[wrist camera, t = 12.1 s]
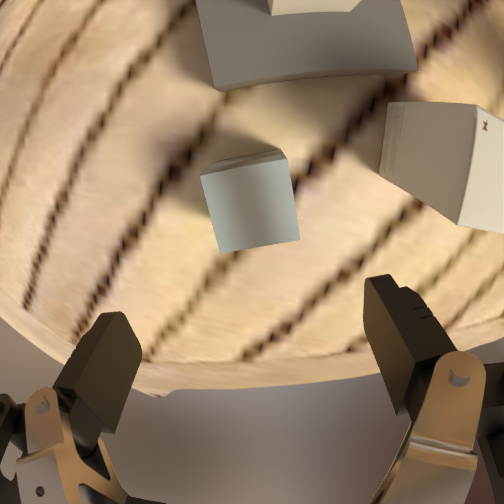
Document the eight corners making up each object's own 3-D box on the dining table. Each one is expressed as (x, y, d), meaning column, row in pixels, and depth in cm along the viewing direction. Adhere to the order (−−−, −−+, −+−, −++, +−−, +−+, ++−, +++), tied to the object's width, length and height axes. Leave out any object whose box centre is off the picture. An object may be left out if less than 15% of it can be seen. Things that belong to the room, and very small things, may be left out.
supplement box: (375, 176, 25) (453, 227, 13) (386, 99, 21) (476, 99, 10) (436, 189, 25) (519, 240, 13) (448, 120, 21) (541, 140, 10)
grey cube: (280, 149, 24) (287, 158, 19) (291, 213, 27) (300, 239, 21) (212, 162, 25) (199, 175, 19) (228, 224, 27) (220, 253, 22)
